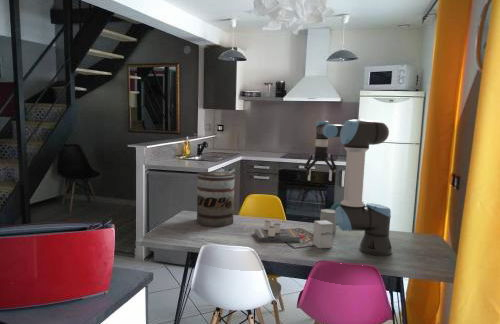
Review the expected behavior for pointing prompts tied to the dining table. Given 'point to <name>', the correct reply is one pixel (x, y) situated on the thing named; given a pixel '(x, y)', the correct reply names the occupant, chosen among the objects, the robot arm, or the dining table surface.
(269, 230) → the breaker
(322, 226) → the supplement box
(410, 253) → the dining table surface
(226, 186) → the barrel
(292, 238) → the panel
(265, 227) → the breaker
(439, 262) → the dining table surface
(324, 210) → the grey block
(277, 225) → the breaker mid
